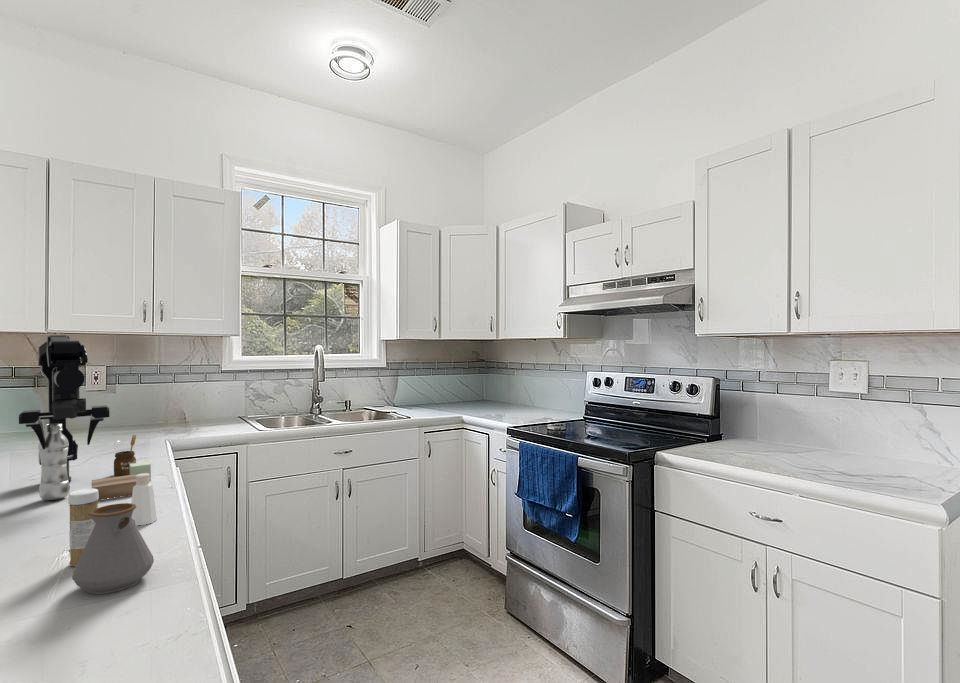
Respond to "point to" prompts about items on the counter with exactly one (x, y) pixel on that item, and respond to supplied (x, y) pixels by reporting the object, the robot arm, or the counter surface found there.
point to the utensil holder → (124, 460)
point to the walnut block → (114, 486)
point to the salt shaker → (143, 501)
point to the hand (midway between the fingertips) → (66, 446)
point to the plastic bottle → (54, 464)
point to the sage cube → (140, 468)
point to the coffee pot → (113, 552)
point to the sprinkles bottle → (81, 520)
